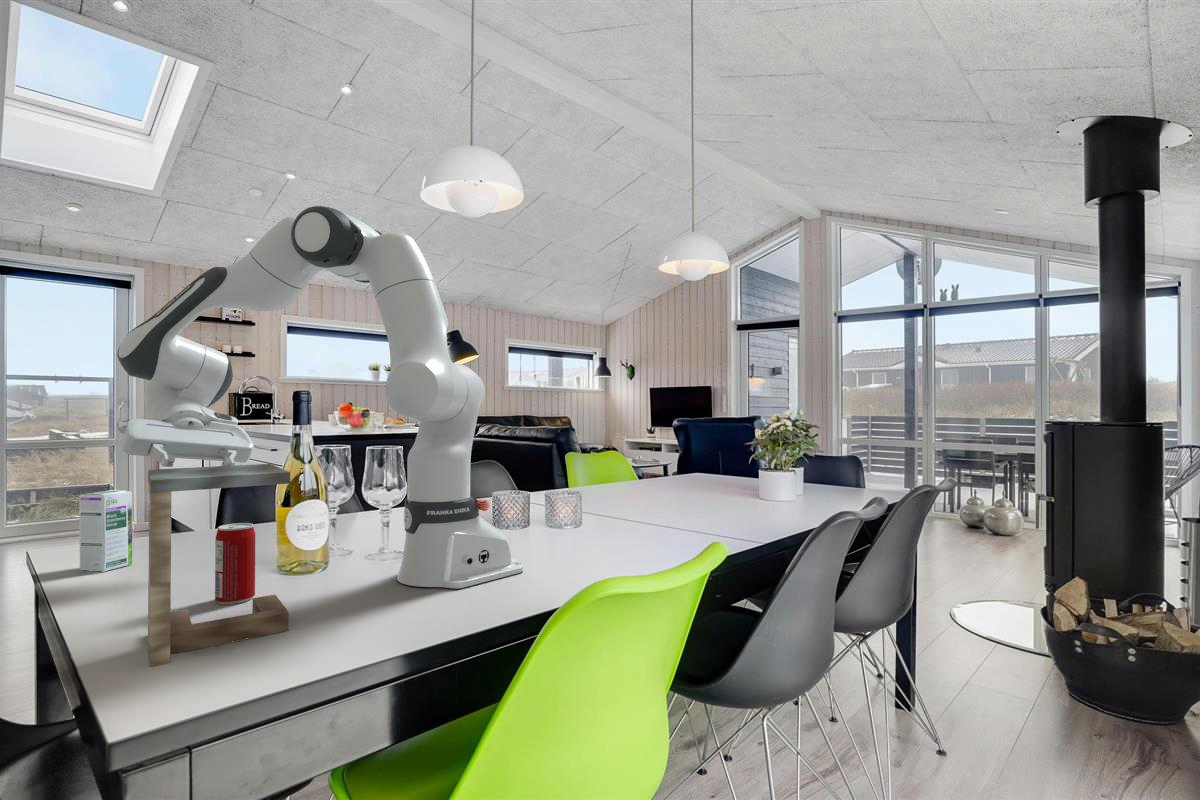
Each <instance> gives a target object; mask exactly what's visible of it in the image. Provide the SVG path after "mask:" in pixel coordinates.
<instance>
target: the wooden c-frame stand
mask: <svg viewBox="0 0 1200 800" xmlns="http://www.w3.org/2000/svg"><path fill="white" fill-rule="evenodd" d="M147 471H148V472H147V482H148V489H149V490H148V491H149V492H148V493H149V494H148V496H149V497H148V499H149V500H148V595H147V596H148V597H147V598H148V601H147V602H148V603H147V605H148V607H147V611H148V613H147V615H148V616H147V617H148V618H147V619H148V620H147V651H148V664H149V666H148V667H151V668H152V667H154V666H160V665H164V664H170V663H171V654H170V614H171V612H172V611H171V606H172V605H171V602H172V601H171V600H172V599H171V597H172V595H171V594H172V593H171V589H172V588H171V587H172V586H171V585H172V492H184V491H186V492H187V491H197V490H198V491H199V490H200V491H201V490H213V489H227V488H243V487H244V488H245V487H246V488H247V487H257V486H272V485H274V486H275V485H287V484H288V485H289V484H291V472H290V471H288V470H286V469H284V468H281V467H279V466H277V465H274V464H273V463H272V464H271V463H259V464H257V463H256V464H240V465H239V464H237V465H234V466H221V465H218V466H199V467H179V468H174V467H173V468H158V469H157V468H156V469H155V468H154V469H147Z"/></svg>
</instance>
